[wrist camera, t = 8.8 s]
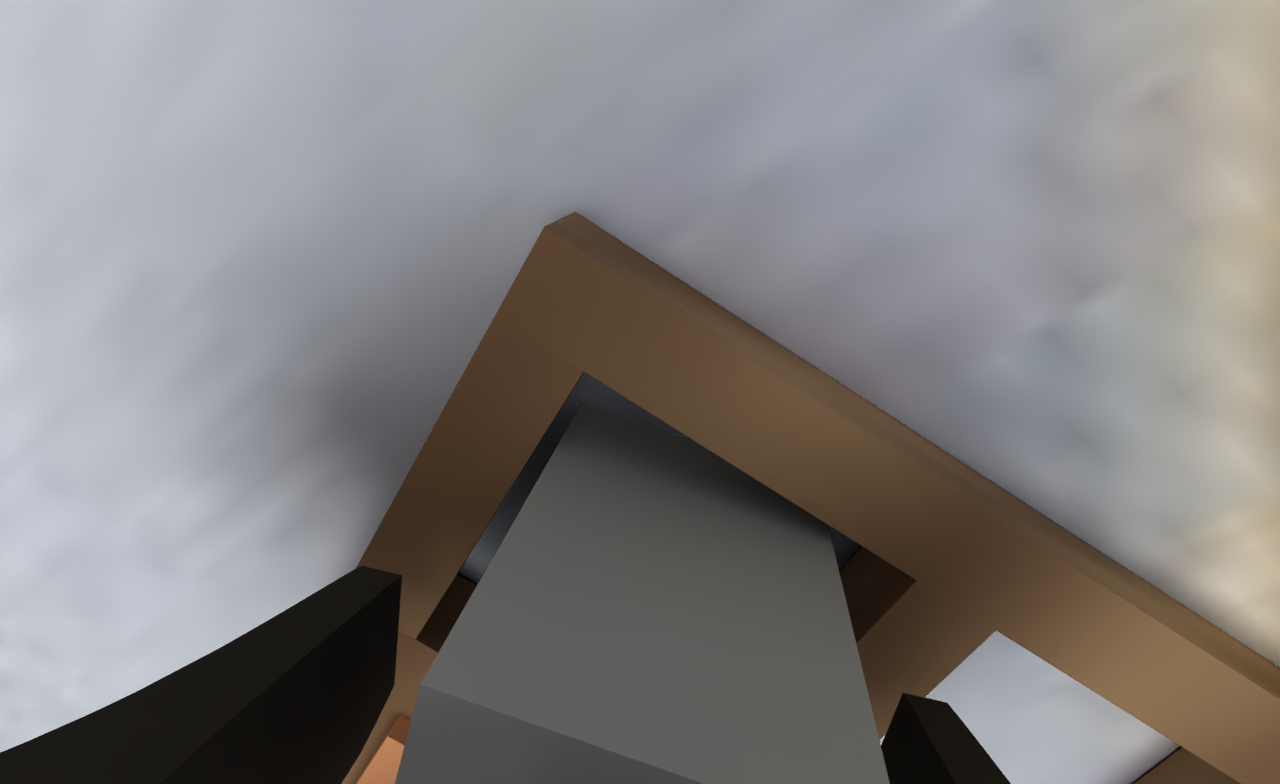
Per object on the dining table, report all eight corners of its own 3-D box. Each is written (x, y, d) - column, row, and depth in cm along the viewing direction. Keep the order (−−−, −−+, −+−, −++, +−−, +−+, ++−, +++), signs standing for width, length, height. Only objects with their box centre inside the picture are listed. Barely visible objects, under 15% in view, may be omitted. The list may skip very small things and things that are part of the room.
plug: (818, 484, 13) (957, 1066, 5) (731, 669, 14) (726, 1334, 6) (582, 402, 13) (329, 843, 5) (522, 596, 14) (258, 1166, 6)
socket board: (1347, 712, 13) (1482, 839, 10) (860, 1054, 18) (880, 1194, 15) (575, 212, 12) (534, 231, 9) (281, 732, 16) (206, 830, 14)
